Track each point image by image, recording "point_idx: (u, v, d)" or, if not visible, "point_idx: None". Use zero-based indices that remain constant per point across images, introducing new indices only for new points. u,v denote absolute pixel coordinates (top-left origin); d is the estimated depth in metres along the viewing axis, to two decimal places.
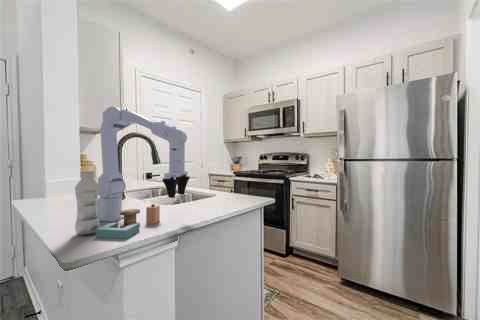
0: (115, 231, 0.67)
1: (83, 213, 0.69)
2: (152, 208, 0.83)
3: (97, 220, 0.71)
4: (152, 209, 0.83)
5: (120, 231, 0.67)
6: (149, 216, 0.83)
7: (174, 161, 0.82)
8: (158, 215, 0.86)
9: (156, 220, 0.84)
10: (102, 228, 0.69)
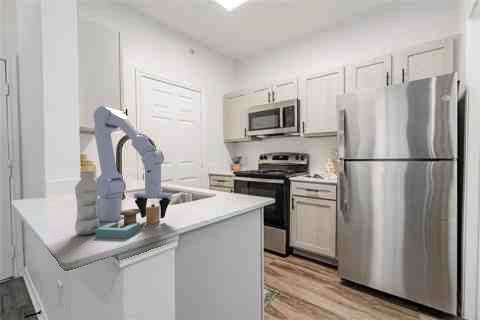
0: (115, 231, 0.67)
1: (83, 213, 0.69)
2: (152, 208, 0.83)
3: (97, 220, 0.71)
4: (152, 209, 0.83)
5: (120, 231, 0.67)
6: (149, 216, 0.83)
7: None
8: (158, 215, 0.86)
9: (156, 220, 0.84)
10: (102, 228, 0.69)
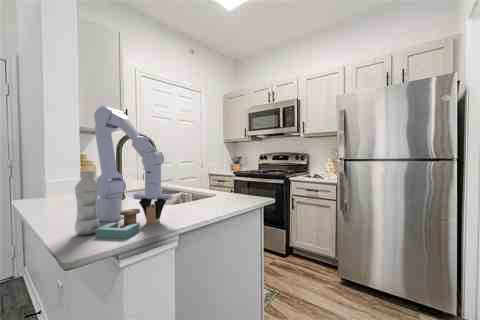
0: (115, 231, 0.67)
1: (83, 213, 0.69)
2: (152, 208, 0.83)
3: (97, 220, 0.71)
4: (152, 209, 0.83)
5: (120, 231, 0.67)
6: (149, 216, 0.83)
7: None
8: None
9: (156, 220, 0.84)
10: (102, 228, 0.69)
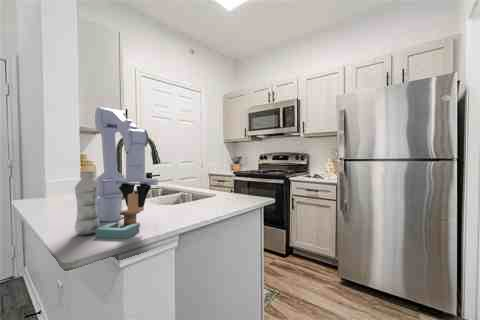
0: (115, 231, 0.67)
1: (83, 213, 0.69)
2: (134, 195, 0.72)
3: (97, 220, 0.71)
4: (135, 196, 0.72)
5: (120, 231, 0.67)
6: (130, 204, 0.72)
7: None
8: None
9: (139, 209, 0.73)
10: (102, 228, 0.69)
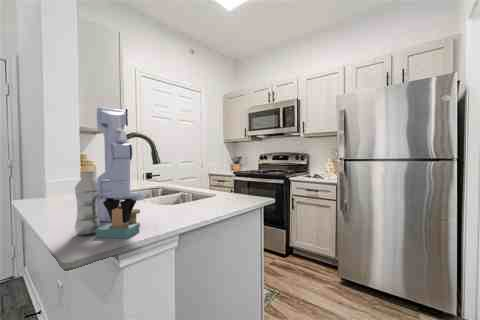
0: (115, 231, 0.67)
1: (83, 213, 0.69)
2: (119, 210, 0.70)
3: (97, 220, 0.71)
4: (119, 211, 0.70)
5: (120, 231, 0.67)
6: (115, 220, 0.70)
7: None
8: None
9: (124, 224, 0.71)
10: (102, 228, 0.69)
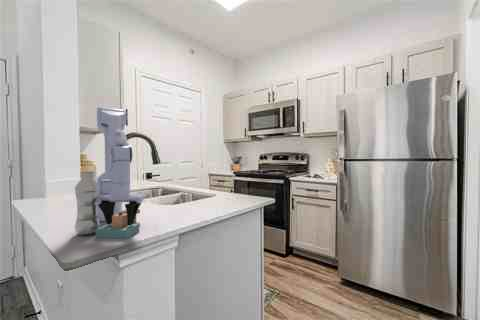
0: (115, 231, 0.67)
1: (83, 213, 0.69)
2: (119, 217, 0.70)
3: (97, 220, 0.71)
4: (119, 218, 0.70)
5: (120, 231, 0.67)
6: (115, 226, 0.70)
7: None
8: (127, 224, 0.73)
9: None
10: (102, 228, 0.69)
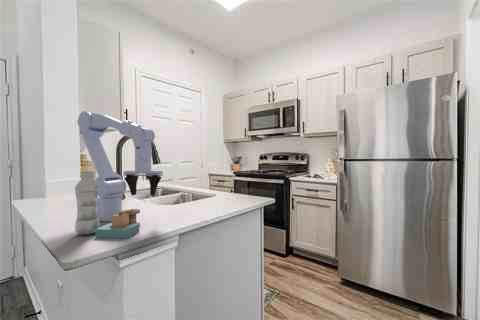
0: (115, 231, 0.67)
1: (83, 213, 0.69)
2: (119, 217, 0.70)
3: (97, 220, 0.71)
4: (119, 218, 0.70)
5: (120, 231, 0.67)
6: (115, 226, 0.70)
7: None
8: (127, 224, 0.73)
9: None
10: (102, 228, 0.69)
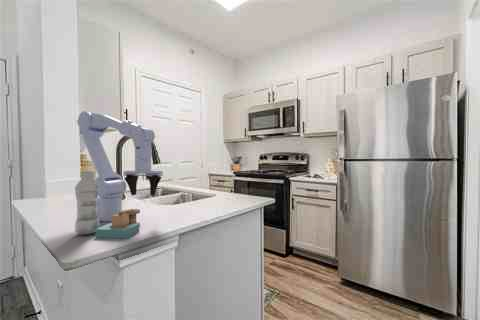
0: (115, 231, 0.67)
1: (83, 213, 0.69)
2: (119, 217, 0.70)
3: (97, 220, 0.71)
4: (119, 218, 0.70)
5: (120, 231, 0.67)
6: (115, 226, 0.70)
7: None
8: (127, 224, 0.73)
9: None
10: (102, 228, 0.69)
